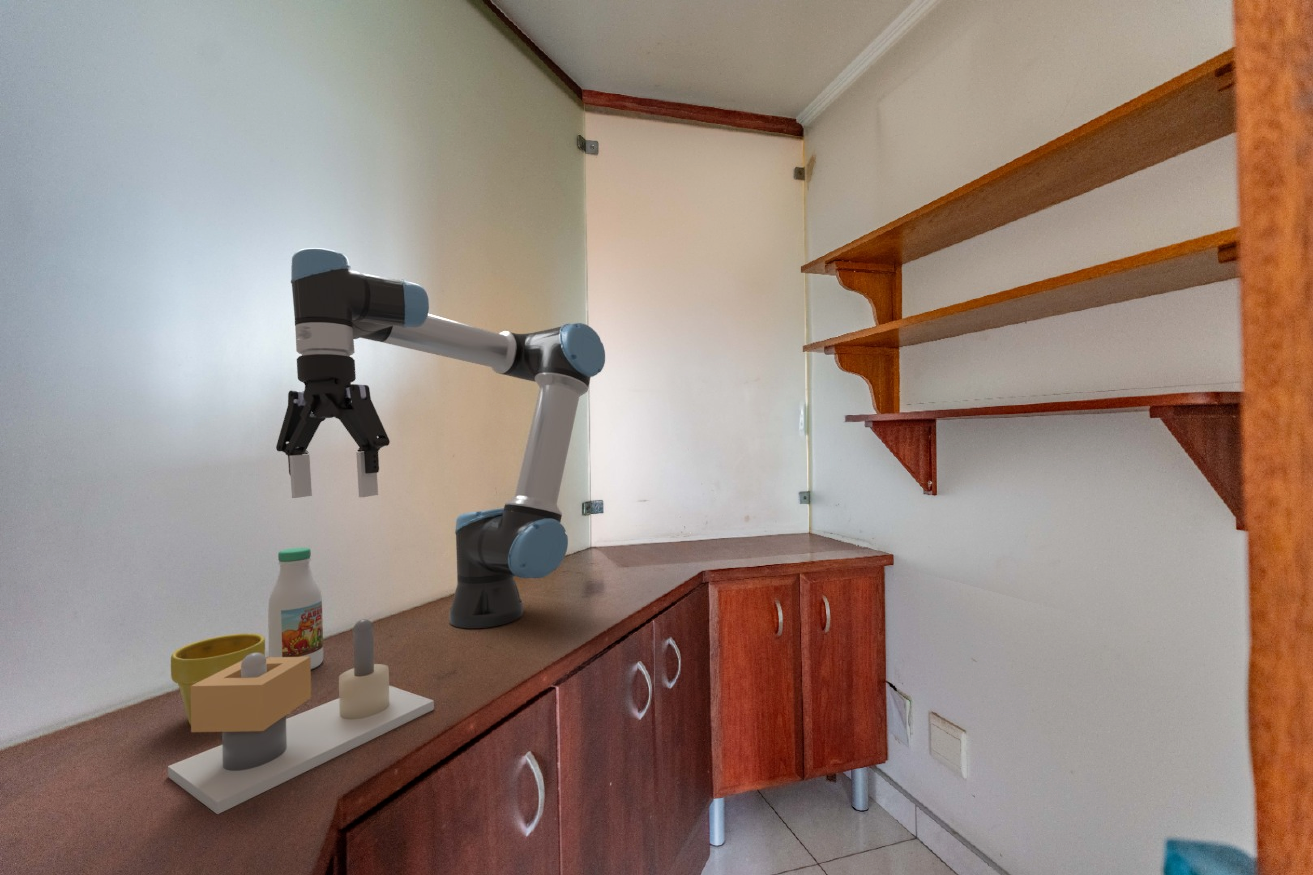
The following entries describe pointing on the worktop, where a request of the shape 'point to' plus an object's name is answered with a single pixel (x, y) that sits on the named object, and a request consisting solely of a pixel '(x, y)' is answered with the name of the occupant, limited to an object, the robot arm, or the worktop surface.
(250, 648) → the plant pot
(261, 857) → the worktop surface
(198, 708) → the collar
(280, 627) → the milk bottle
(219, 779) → the assembly board
